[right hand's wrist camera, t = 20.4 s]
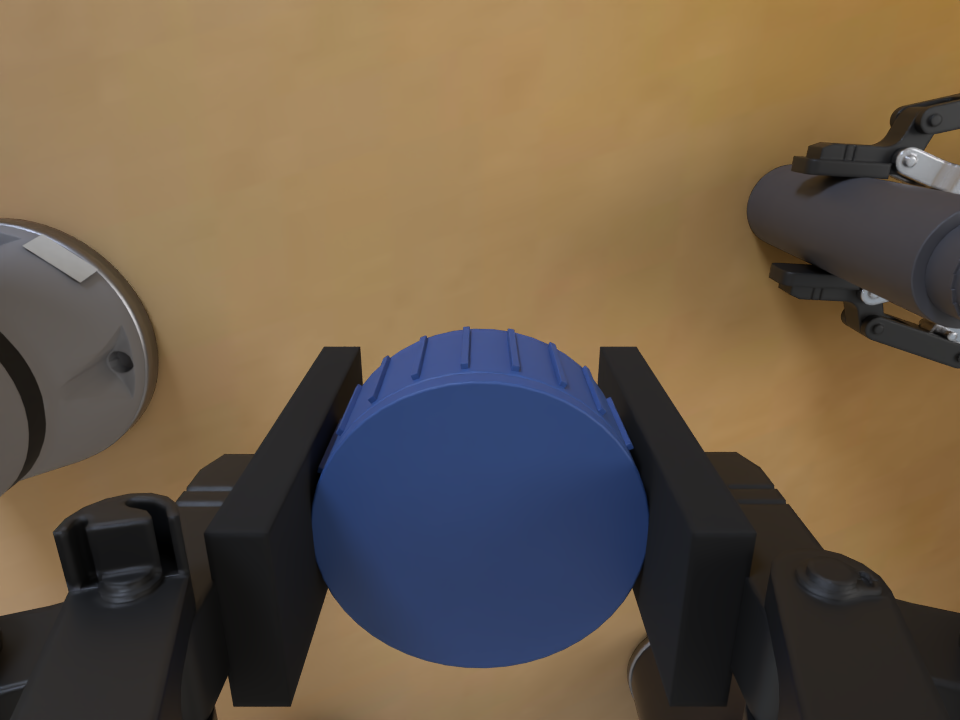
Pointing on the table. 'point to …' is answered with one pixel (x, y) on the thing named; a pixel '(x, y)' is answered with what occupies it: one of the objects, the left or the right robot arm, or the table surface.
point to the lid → (480, 502)
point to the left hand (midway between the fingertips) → (789, 220)
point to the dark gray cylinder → (868, 235)
